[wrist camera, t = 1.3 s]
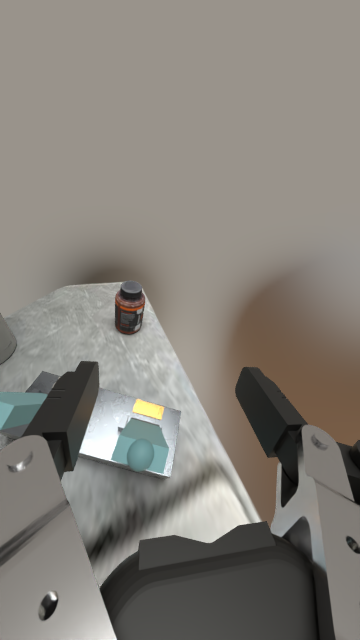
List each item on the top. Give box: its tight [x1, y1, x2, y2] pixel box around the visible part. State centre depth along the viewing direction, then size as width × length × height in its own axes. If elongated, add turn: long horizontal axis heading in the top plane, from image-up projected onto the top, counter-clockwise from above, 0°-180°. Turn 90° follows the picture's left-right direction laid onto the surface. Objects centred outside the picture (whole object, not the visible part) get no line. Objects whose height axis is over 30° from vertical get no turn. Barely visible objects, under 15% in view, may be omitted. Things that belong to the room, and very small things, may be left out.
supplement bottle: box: [115, 281, 145, 334], centre depth 39 cm, size 6×6×11 cm
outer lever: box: [111, 417, 169, 474], centre depth 19 cm, size 4×2×14 cm, turn 80°
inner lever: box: [0, 392, 49, 430], centre depth 18 cm, size 4×2×14 cm, turn 80°
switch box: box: [0, 371, 181, 480], centre depth 26 cm, size 22×8×6 cm, turn 80°
